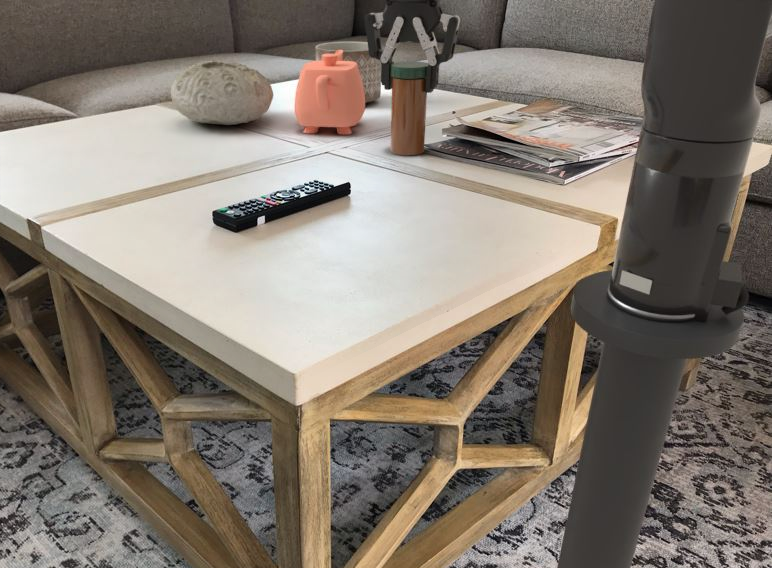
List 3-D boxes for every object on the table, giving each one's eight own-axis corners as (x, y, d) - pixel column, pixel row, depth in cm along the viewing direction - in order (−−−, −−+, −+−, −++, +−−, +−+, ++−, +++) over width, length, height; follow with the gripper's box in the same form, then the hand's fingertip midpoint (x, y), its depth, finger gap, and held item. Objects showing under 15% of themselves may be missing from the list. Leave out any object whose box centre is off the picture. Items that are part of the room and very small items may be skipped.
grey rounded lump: (284, 112, 137) (282, 56, 132) (260, 136, 122) (256, 73, 117) (193, 110, 140) (188, 54, 136) (158, 133, 125) (151, 71, 120)
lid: (434, 72, 109) (435, 62, 109) (423, 79, 105) (423, 68, 104) (397, 71, 111) (397, 60, 111) (384, 77, 107) (385, 66, 106)
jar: (428, 148, 115) (432, 66, 109) (418, 156, 111) (422, 71, 105) (396, 145, 117) (399, 64, 111) (385, 153, 112) (387, 70, 107)
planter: (380, 95, 150) (381, 41, 145) (380, 109, 139) (381, 50, 134) (318, 95, 151) (317, 41, 146) (313, 108, 140) (312, 51, 135)
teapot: (357, 142, 118) (358, 64, 112) (285, 140, 120) (282, 62, 114) (371, 115, 135) (372, 45, 129) (307, 113, 137) (306, 44, 131)
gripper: (355, -37, 100) (354, 91, 109) (459, -36, 95) (450, 98, 104) (374, -39, 106) (372, 82, 115) (473, -39, 101) (463, 88, 110)
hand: (409, 89), depth 109 cm, fingers closed on lid, 5 cm apart
